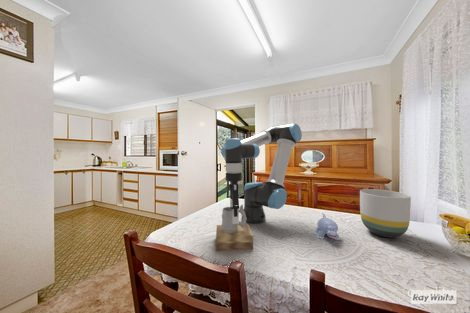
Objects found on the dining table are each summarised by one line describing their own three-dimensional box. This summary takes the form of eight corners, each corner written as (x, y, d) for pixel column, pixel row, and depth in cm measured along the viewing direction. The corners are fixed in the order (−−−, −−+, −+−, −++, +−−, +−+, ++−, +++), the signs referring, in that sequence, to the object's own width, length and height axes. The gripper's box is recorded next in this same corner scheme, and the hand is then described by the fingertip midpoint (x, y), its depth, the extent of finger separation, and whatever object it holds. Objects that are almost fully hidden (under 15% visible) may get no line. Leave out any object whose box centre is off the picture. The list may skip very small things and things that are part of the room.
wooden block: (248, 235, 87) (248, 223, 87) (253, 248, 75) (253, 235, 75) (216, 237, 86) (216, 225, 86) (216, 250, 74) (216, 236, 74)
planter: (399, 230, 93) (400, 191, 93) (419, 248, 76) (419, 199, 75) (356, 224, 101) (356, 188, 101) (364, 239, 84) (365, 195, 83)
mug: (222, 226, 85) (222, 201, 84) (247, 227, 83) (247, 202, 83) (219, 233, 77) (219, 206, 77) (246, 234, 76) (246, 207, 75)
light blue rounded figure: (320, 243, 80) (320, 223, 79) (312, 229, 94) (312, 212, 94) (346, 246, 77) (346, 225, 77) (334, 231, 92) (334, 213, 92)
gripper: (224, 169, 92) (225, 208, 93) (226, 176, 67) (227, 229, 68) (238, 169, 93) (239, 208, 93) (245, 175, 68) (246, 228, 69)
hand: (234, 217), depth 81 cm, fingers open, 13 cm apart
